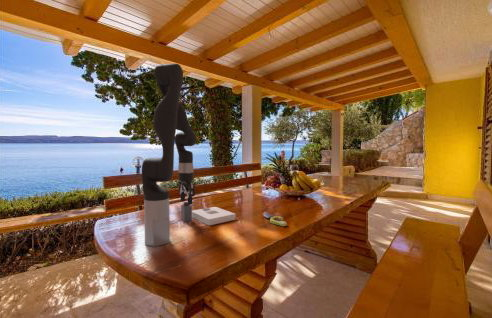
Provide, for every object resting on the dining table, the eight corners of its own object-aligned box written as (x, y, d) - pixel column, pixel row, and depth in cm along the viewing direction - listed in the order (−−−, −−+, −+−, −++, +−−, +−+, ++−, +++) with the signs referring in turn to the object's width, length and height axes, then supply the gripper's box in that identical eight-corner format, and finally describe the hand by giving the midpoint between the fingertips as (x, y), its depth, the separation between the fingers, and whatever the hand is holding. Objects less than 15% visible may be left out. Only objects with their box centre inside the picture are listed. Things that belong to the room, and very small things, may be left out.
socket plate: (235, 219, 124) (235, 212, 124) (208, 225, 114) (208, 218, 114) (215, 211, 139) (215, 205, 139) (190, 216, 129) (190, 209, 129)
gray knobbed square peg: (191, 220, 121) (191, 202, 121) (184, 222, 119) (184, 203, 118) (188, 219, 124) (188, 201, 124) (181, 220, 122) (181, 202, 122)
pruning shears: (257, 214, 134) (277, 228, 111) (257, 210, 134) (277, 223, 111) (269, 213, 137) (291, 226, 113) (269, 209, 137) (291, 221, 113)
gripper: (173, 170, 124) (173, 201, 125) (185, 173, 113) (185, 206, 114) (186, 169, 129) (187, 199, 129) (199, 172, 117) (199, 204, 118)
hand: (186, 202), depth 122 cm, fingers open, 8 cm apart
